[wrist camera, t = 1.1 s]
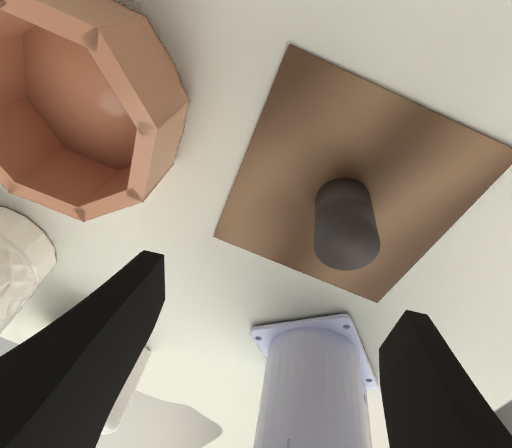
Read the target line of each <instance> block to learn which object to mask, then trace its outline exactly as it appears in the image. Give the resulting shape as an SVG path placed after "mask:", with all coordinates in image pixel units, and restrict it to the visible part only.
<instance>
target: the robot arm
mask: <svg viewBox="0 0 512 448" xmlns="http://www.w3.org/2000/svg"><path fill="white" fill-rule="evenodd" d="M164 301H165V273H164V255H163V254H158V253H154V252H149V251H145V250H144V251H142V252H140V253H139V254H138V255H137V256H136V257H135V258H134V259H132V260H131V261H130V262H129V263H128V264H127V265H125V266H124V267H123V268H122V269H121V270H120V271H118V272H117V273H116V274H115V275H114V276H112V277H111V278H110V279H109V280H108V281H106V282H105V283H104V284H103V285H101V286H100V287H99V288H98V289H96V290H95V291H94V292H92V293H91V294H90V295H89V296H87V297H86V298H85V299H84V300H82V301H81V302H80V303H78V304H77V305H76V306H74V307H73V308H72V309H70V310H69V311H67V312H66V313H65V314H63V315H62V316H61V317H59V318H58V319H56V320H55V321H54V322H52V323H51V324H49V325H48V326H47V327H45V328H44V329H42V330H41V331H39V332H38V333H36V334H35V335H33V336H32V337H30V338H29V339H27V340H26V341H24V342H23V343H21V344H20V345H18V346H17V347H15V348H13V349H12V350H10V351H9V352H7V353H5V354H4V355H2V356H0V448H95V447H96V444H97V442H98V440H99V437H100V435H101V433H102V430H103V428H104V425H105V423H106V421H107V418H108V416H109V414H110V412H111V410H112V408H113V406H114V404H115V402H116V400H117V398H118V396H119V394H120V392H121V390H122V388H123V387H124V385H125V383H126V381H127V379H128V377H129V375H130V373H131V371H132V370H133V368H134V366H135V364H136V362H137V360H138V358H139V356H140V354H141V352H142V351H143V349H144V347H145V345H146V343H147V341H148V339H149V337H150V335H151V333H152V331H153V329H154V327H155V324H156V322H157V319H158V317H159V314H160V311H161V309H162V306H163V303H164ZM345 324H347V325H345ZM250 335H251V337H252V338H253V340H254V341H255V343H256V344H257V346H258V347H259V349H260V350H261V352H262V353H263V355H264V356H265V358H266V359H267V360H266V367H265V374H264V380H263V387H262V394H261V401H260V407H259V414H258V421H257V427H256V434H255V441H254V447H253V448H372V440H371V431H370V421H369V412H368V402H367V393H366V390H375V389H377V388H378V383H377V380H376V378H375V375H374V373H373V370H372V368H371V365H370V363H369V360H368V358H367V355H366V353H365V350H364V348H363V346H362V343H361V341H360V338H359V336H358V333H357V331H356V328H355V326H354V323H353V321H352V318H351V317H350V316H349V315H348V314H338V315H331V316H324V317H317V318H310V319H303V320H296V321H290V322H283V323H276V324H269V325H262V326H255V327H252V328H251V329H250ZM379 371H380V387H381V394H382V401H383V407H384V414H385V420H386V427H387V433H388V439H389V446H390V448H512V435H511V434H510V433H509V431H508V430H507V429H506V427H505V426H504V425H503V424H502V422H501V421H500V419H499V418H498V417H497V416H496V414H495V413H494V411H493V410H492V409H491V407H490V406H489V404H488V403H487V402H486V400H485V399H484V398H483V396H482V395H481V393H480V392H479V390H478V389H477V388H476V386H475V385H474V383H473V382H472V380H471V379H470V378H469V376H468V375H467V373H466V372H465V370H464V369H463V367H462V366H461V364H460V363H459V361H458V360H457V358H456V357H455V355H454V354H453V352H452V351H451V349H450V348H449V346H448V345H447V343H446V342H445V340H444V339H443V337H442V336H441V334H440V333H439V331H438V330H437V328H436V327H435V325H434V324H433V322H432V321H431V319H430V318H429V316H428V315H427V314H422V313H418V312H413V311H409V310H406V311H405V312H404V314H403V315H402V316H401V318H400V319H399V321H398V322H397V324H396V325H395V327H394V328H393V329H392V331H391V332H390V334H389V335H388V337H387V338H386V340H385V341H384V342H383V344H382V345H381V347H380V348H379Z"/></svg>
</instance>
